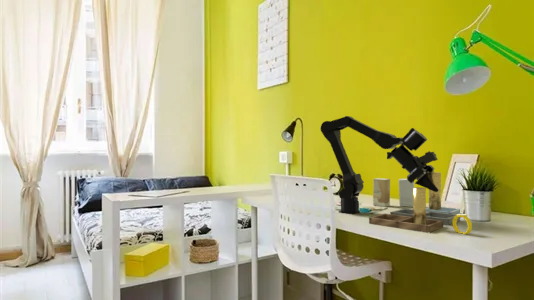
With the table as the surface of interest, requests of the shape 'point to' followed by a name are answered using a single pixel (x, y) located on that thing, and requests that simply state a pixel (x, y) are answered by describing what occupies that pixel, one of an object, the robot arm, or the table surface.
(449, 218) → the tray
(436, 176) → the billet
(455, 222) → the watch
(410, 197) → the skincare box
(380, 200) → the skincare box
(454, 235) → the table surface
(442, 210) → the tray
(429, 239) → the table surface
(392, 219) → the tray
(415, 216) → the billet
